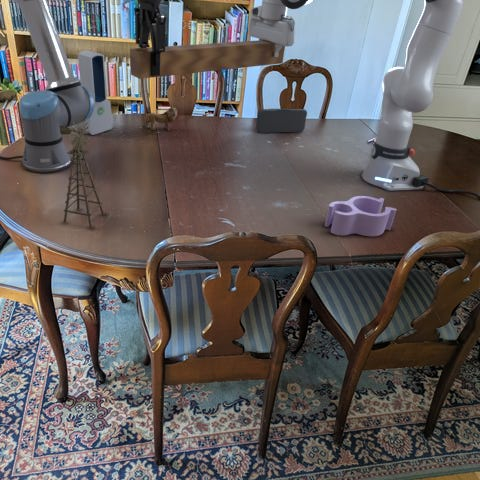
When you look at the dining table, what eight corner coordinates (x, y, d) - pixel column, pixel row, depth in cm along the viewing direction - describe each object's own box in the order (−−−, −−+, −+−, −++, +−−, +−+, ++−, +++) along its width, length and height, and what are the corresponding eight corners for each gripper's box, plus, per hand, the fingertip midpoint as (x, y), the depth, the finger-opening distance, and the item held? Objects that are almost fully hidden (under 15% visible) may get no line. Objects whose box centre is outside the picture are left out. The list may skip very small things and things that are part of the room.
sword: (405, 131, 224) (406, 128, 224) (410, 133, 222) (411, 130, 222) (362, 142, 208) (362, 140, 208) (367, 144, 206) (368, 142, 206)
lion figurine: (175, 126, 202) (175, 105, 197) (178, 130, 198) (178, 109, 193) (141, 127, 197) (140, 106, 192) (143, 131, 193) (143, 110, 188)
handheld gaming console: (301, 129, 213) (305, 108, 208) (304, 131, 211) (308, 110, 205) (254, 131, 206) (257, 108, 200) (257, 133, 204) (259, 110, 198)
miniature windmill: (90, 229, 128) (80, 122, 112) (62, 223, 129) (47, 117, 113) (105, 213, 136) (97, 111, 119) (78, 208, 137) (67, 106, 120)
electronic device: (90, 136, 184) (84, 56, 167) (77, 131, 187) (69, 52, 170) (113, 128, 193) (109, 52, 177) (100, 123, 196) (95, 48, 180)
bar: (139, 78, 137) (138, 52, 133) (130, 74, 140) (129, 48, 136) (282, 63, 172) (285, 42, 168) (273, 60, 175) (276, 39, 171)
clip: (337, 240, 135) (342, 219, 131) (318, 218, 145) (322, 198, 141) (395, 233, 141) (402, 213, 137) (373, 213, 151) (378, 194, 147)
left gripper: (179, -9, 126) (177, 79, 138) (144, -18, 136) (145, 65, 149) (155, -10, 121) (155, 82, 134) (121, -19, 132) (124, 66, 145)
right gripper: (301, 17, 157) (295, 60, 165) (260, 8, 170) (256, 48, 177) (288, 17, 154) (282, 61, 161) (247, 8, 166) (244, 49, 173)
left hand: (150, 72), depth 141 cm, fingers closed on bar, 5 cm apart
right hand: (268, 54), depth 169 cm, fingers closed on bar, 5 cm apart
